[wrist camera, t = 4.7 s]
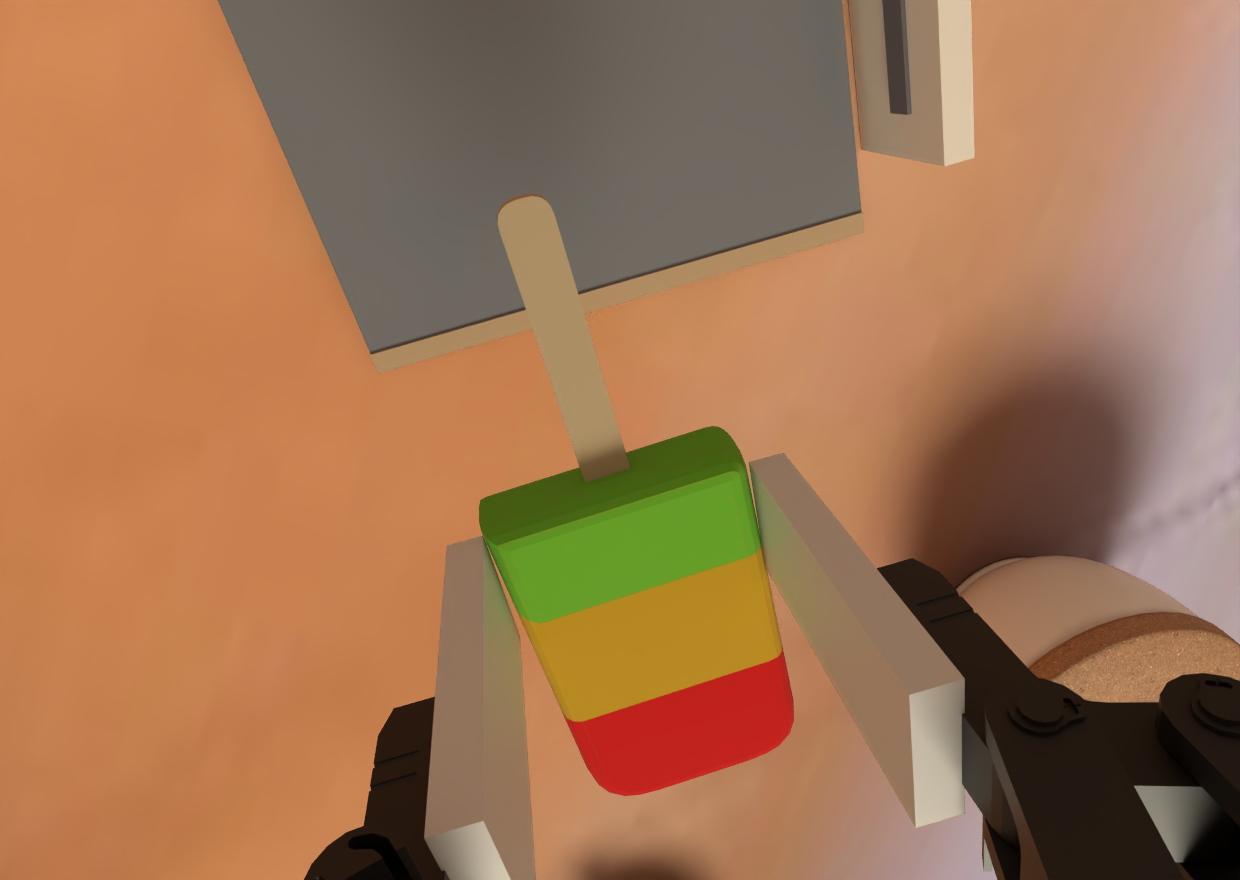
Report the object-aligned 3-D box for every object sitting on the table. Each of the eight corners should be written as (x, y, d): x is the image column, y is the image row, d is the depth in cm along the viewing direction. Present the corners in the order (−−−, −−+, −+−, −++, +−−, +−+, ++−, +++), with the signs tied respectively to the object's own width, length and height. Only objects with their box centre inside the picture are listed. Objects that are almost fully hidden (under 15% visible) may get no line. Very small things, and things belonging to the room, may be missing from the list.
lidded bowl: (1080, 680, 45) (1245, 850, 35) (879, 712, 43) (993, 900, 33) (1133, 498, 39) (1348, 640, 29) (905, 529, 38) (1050, 689, 28)
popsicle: (593, 755, 21) (604, 818, 19) (367, 232, 13) (352, 260, 12) (781, 693, 21) (808, 750, 19) (663, 141, 13) (690, 156, 12)
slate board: (380, 367, 30) (378, 373, 29) (175, -110, 23) (166, -116, 22) (856, 229, 30) (864, 232, 30) (807, -282, 23) (815, -292, 22)
